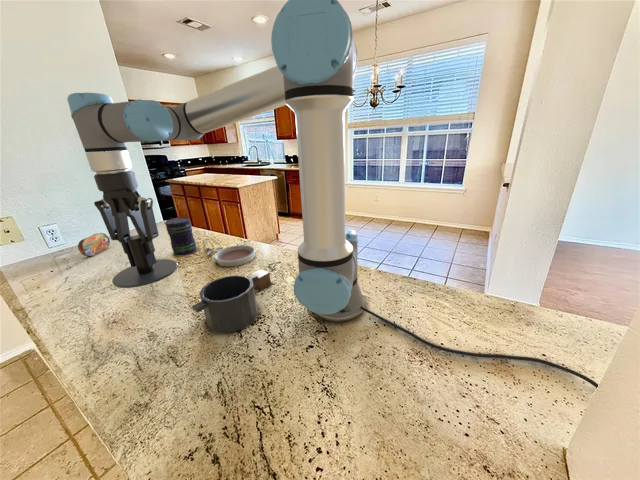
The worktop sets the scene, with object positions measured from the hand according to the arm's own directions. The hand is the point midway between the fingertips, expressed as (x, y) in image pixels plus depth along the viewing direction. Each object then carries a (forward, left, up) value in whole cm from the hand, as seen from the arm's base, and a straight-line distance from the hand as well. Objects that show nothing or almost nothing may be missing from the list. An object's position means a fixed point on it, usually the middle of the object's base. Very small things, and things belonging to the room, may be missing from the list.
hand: (144, 264), depth 68 cm
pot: (-16, -12, -17) cm, 27 cm away
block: (-10, -28, -17) cm, 35 cm away
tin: (+83, -7, -18) cm, 85 cm away
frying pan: (+22, -37, -18) cm, 47 cm away
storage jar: (+44, -30, -18) cm, 56 cm away
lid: (0, 0, -3) cm, 3 cm away
